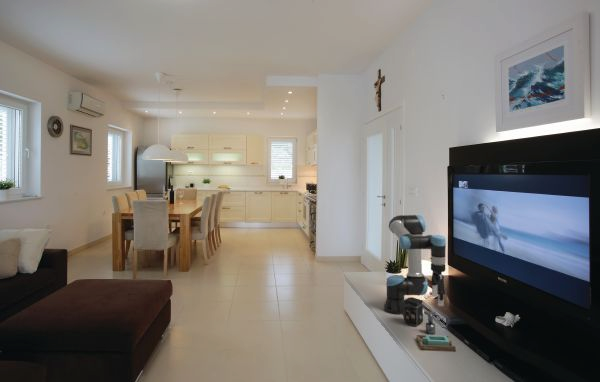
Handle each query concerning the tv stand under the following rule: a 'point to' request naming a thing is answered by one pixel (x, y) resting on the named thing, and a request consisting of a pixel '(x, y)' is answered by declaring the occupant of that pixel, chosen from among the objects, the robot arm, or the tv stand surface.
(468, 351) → the tv stand surface
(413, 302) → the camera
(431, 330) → the mallet
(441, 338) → the teal rectangular frame
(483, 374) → the tv stand surface
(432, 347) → the tray
